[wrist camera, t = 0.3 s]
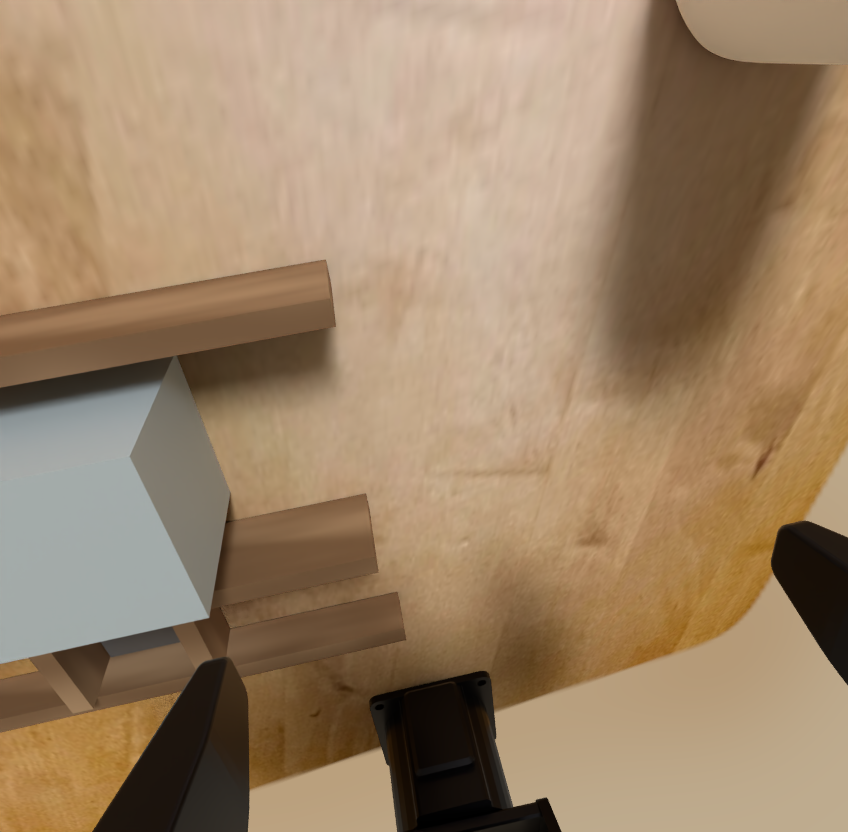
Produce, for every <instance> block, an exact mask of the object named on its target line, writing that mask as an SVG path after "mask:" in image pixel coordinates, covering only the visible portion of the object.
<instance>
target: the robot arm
mask: <svg viewBox="0 0 848 832" xmlns="http://www.w3.org/2000/svg"><path fill="white" fill-rule="evenodd" d="M771 567H772V570H773V573H774V575H775V577H776V579H777V580H778V582H779V583H780V584H781V586H782V588H783V590H784V591H785V593H786V594H787V595H788V597H789V599H790V601H791V602H792V604H793V605H794V607H795V608H796V610H797V612H798V613H799V615H800V616H801V618H802V619H803V621H804V623H805V624H806V626H807V628H808V629H809V631H810V632H811V634H812V635H813V637H814V638H815V640H816V642H817V643H818V645H819V646H820V648H821V649H822V651H823V652H824V654H825V655H826V657H827V658H828V660H829V661H830V662H831V664H832V665H833V666H834V668H835V669H836V670H837V672H838V673H839V675H840V676H841V677H842V678H843V680H844V681H845V682H846V683H847V685H848V537H845V536H843V535H841V534H838V533H836V532H834V531H831V530H829V529H826V528H824V527H822V526H819V525H817V524H814V523H812V522H809V521H799V522H795V523H790V524H786V525H783V526H781V527H780V528H779V530H778V532H777V537H776V541H775V545H774V549H773V553H772V558H771ZM370 711H371V714H372V717H373V721H374V724H375V727H376V730H377V734H378V737H379V740H380V744H381V747H382V750H383V754H384V757H385V760H386V763H387V765H389V767H390V775H391V783H392V792H393V799H394V809H395V817H396V825H397V832H561V830H560V827H559V825H558V822H557V820H556V818H555V815H554V813H553V810H552V808H551V806H550V803H549V801H548V799H547V798H542V799H537V800H536V802H534V803H530V804H525V805H521V806H516V807H513V804H512V801H511V797H510V794H509V790H508V786H507V783H506V779H505V776H504V772H503V769H502V765H501V761H500V757H499V754H498V750H497V747H496V743H495V739H496V728H495V718H494V707H493V697H492V687H491V679H490V676H489V673H488V672H486V671H478V672H474V673H470V674H466V675H461V676H457V677H453V678H448V679H444V680H440V681H436V682H431V683H427V684H423V685H419V686H414V687H410V688H406V689H402V690H397V691H393V692H389V693H385V694H380V695H377V696H374V697H372V698H371V699H370ZM248 819H249V728H248V696H247V691H246V688H245V686H244V684H243V682H242V680H241V677H240V675H239V673H238V671H237V669H236V667H235V665H234V663H233V661H232V660H231V659H230V658H229V657H227V656H226V657H225V656H224V657H220V658H216V659H211V660H207V661H204V662H203V663H201V664H200V665H199V666H198V668H197V669H196V671H195V672H194V674H193V675H192V677H191V678H190V680H189V682H188V683H187V685H186V686H185V688H184V689H183V691H182V692H181V694H180V696H179V697H178V699H177V700H176V702H175V703H174V705H173V707H172V708H171V710H170V711H169V713H168V714H167V716H166V717H165V719H164V721H163V722H162V724H161V725H160V727H159V728H158V730H157V732H156V733H155V735H154V736H153V738H152V739H151V741H150V742H149V744H148V746H147V747H146V749H145V750H144V752H143V753H142V755H141V756H140V758H139V760H138V761H137V763H136V764H135V766H134V767H133V769H132V771H131V772H130V774H129V775H128V777H127V778H126V780H125V781H124V783H123V785H122V786H121V788H120V789H119V791H118V792H117V794H116V796H115V797H114V799H113V800H112V802H111V803H110V805H109V806H108V808H107V810H106V811H105V813H104V814H103V816H102V817H101V819H100V820H99V822H98V824H97V825H96V827H95V828H94V830H93V831H92V832H248Z"/></svg>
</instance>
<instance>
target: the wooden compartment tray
mask: <svg viewBox="0 0 848 832" xmlns="http://www.w3.org/2000/svg"><path fill="white" fill-rule="evenodd" d="M331 327H336V323H335V314H334V306H333V297H332V288H331V282H330V277H329V272H328V268H327V263H326V260H321V261H315V262H309V263H304V264H298V265H292V266H286V267H280V268H275V269H269V270H263V271H257V272H251V273H246V274H240V275H234V276H228V277H222V278H217V279H211V280H205V281H199V282H193V283H188V284H182V285H176V286H170V287H164V288H159V289H153V290H147V291H141V292H135V293H130V294H124V295H118V296H112V297H106V298H101V299H95V300H89V301H83V302H77V303H72V304H66V305H60V306H54V307H48V308H43V309H37V310H31V311H25V312H19V313H14V314H8V315H2V316H0V388H1V387H6V386H12V385H17V384H23V383H28V382H34V381H39V380H45V379H50V378H56V377H61V376H67V375H72V374H78V373H83V372H89V371H94V370H100V369H105V368H111V367H116V366H122V365H127V364H133V363H138V362H144V361H149V360H155V359H160V358H166V357H171V356H177V355H182V354H188V353H193V352H199V351H204V350H210V349H215V348H221V347H226V346H232V345H237V344H243V343H248V342H254V341H259V340H265V339H270V338H276V337H281V336H287V335H292V334H298V333H303V332H309V331H314V330H320V329H325V328H331ZM373 573H378V566H377V559H376V552H375V545H374V538H373V531H372V524H371V517H370V510H369V505H368V501H367V496H366V494H362V495H357V496H352V497H347V498H343V499H338V500H333V501H328V502H323V503H318V504H314V505H309V506H304V507H299V508H294V509H289V510H284V511H280V512H275V513H270V514H265V515H260V516H255V517H251V518H246V519H241V520H236V521H231V522H226V523H225V527H224V533H223V539H222V545H221V551H220V557H219V563H218V569H217V574H216V580H215V586H214V592H213V598H212V604H211V610H210V616H209V618H206V619H202V620H197V621H193V622H188V623H184V624H179V625H174V626H170V627H165V628H161V629H156V630H152V631H147V632H143V633H138V634H134V635H129V636H125V637H120V638H115V639H111V640H106V641H102V642H97V643H93V644H88V645H84V646H79V647H75V648H70V649H66V650H61V651H56V652H52V653H47V654H43V655H38V656H34V657H29V659H30V660H31V661H32V663H33V664H34V665H35V667H36V668H37V669H38V670H39V671H38V672H34V673H29V674H25V675H20V676H16V677H11V678H7V679H2V680H0V732H5V731H9V730H13V729H18V728H22V727H27V726H31V725H35V724H40V723H44V722H48V721H53V720H57V719H62V718H66V717H70V716H75V715H79V714H84V713H88V712H92V711H97V710H101V709H105V708H110V707H114V706H119V705H123V704H127V703H132V702H136V701H140V700H145V699H149V698H154V697H158V696H162V695H167V694H171V693H176V692H180V691H183V689H184V688H185V686H186V685H187V683H188V682H189V680H190V678H191V677H192V675H193V674H194V672H195V671H196V669H197V668H198V666H199V665H200V664H201V663H203V662H204V661H207V660H211V659H216V658H220V657H224V656H225V657H226V656H227V657H229V658H230V659H231V660H232V661H233V663H234V665H235V667H236V669H237V671H238V673H239V675H240V677H246V676H250V675H254V674H259V673H263V672H268V671H272V670H276V669H281V668H285V667H289V666H294V665H298V664H303V663H307V662H311V661H316V660H320V659H325V658H329V657H333V656H338V655H342V654H346V653H351V652H355V651H360V650H364V649H368V648H373V647H377V646H381V645H386V644H390V643H395V642H399V641H403V640H406V636H405V630H404V625H403V619H402V613H401V607H400V602H399V597H398V593H397V592H395V593H391V594H386V595H382V596H377V597H373V598H368V599H364V600H359V601H355V602H350V603H346V604H341V605H337V606H332V607H328V608H323V609H319V610H314V611H310V612H305V613H301V614H296V615H291V616H287V617H282V618H278V619H273V620H269V621H264V622H260V623H255V624H251V625H246V626H242V627H237V628H233V629H230V628H229V626H228V624H227V622H226V619H225V617H224V615H223V613H222V611H221V609H220V607H222V606H226V605H231V604H236V603H240V602H245V601H249V600H254V599H259V598H263V597H268V596H272V595H277V594H282V593H286V592H291V591H295V590H300V589H304V588H309V587H314V586H318V585H323V584H327V583H332V582H337V581H341V580H346V579H350V578H355V577H360V576H364V575H369V574H373Z"/></svg>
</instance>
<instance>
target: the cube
mask: <svg viewBox="0 0 848 832" xmlns="http://www.w3.org/2000/svg"><path fill="white" fill-rule="evenodd" d="M229 498H230V490H229V488H228V485H227V483H226V480H225V477H224V475H223V472H222V470H221V467H220V465H219V462H218V460H217V457H216V454H215V452H214V449H213V447H212V444H211V442H210V439H209V437H208V434H207V432H206V429H205V426H204V424H203V421H202V419H201V416H200V414H199V411H198V409H197V406H196V403H195V401H194V398H193V396H192V393H191V391H190V388H189V386H188V383H187V381H186V378H185V375H184V373H183V370H182V368H181V365H180V363H179V360H178V358H177V356H171V357H166V358H160V359H155V360H149V361H144V362H138V363H133V364H127V365H122V366H116V367H111V368H105V369H100V370H94V371H89V372H83V373H78V374H72V375H67V376H61V377H56V378H50V379H45V380H39V381H34V382H28V383H23V384H17V385H12V386H6V387H1V388H0V664H2V663H7V662H11V661H16V660H20V659H25V658H29V657H34V656H38V655H43V654H47V653H52V652H56V651H61V650H66V649H70V648H75V647H79V646H84V645H88V644H93V643H97V642H102V641H106V640H111V639H115V638H120V637H125V636H129V635H134V634H138V633H143V632H147V631H152V630H156V629H161V628H165V627H170V626H174V625H179V624H184V623H188V622H193V621H197V620H202V619H206V618H209V616H210V610H211V604H212V598H213V592H214V586H215V580H216V574H217V569H218V563H219V557H220V551H221V545H222V539H223V533H224V527H225V522H226V516H227V510H228V504H229Z"/></svg>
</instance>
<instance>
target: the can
mask: <svg viewBox="0 0 848 832" xmlns="http://www.w3.org/2000/svg"><path fill="white" fill-rule="evenodd" d="M676 2H677V5H678V8H679V11H680V13H681V15H682V17H683V19H684V21H685V23H686V25H687V27H688V28H689V30H690V31H691V33H692V34H693V36H694V37H695V39H696V40H697V41H698V42H699V43H700V44H701V45H702V46H703V47H704V48H706V49H707V50H709V51H710V52H712V53H714V54H716V55H718V56H720V57H723V58H726V59H730V60H735V61H742V62H754V63H778V64H822V65H848V0H676Z"/></svg>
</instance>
